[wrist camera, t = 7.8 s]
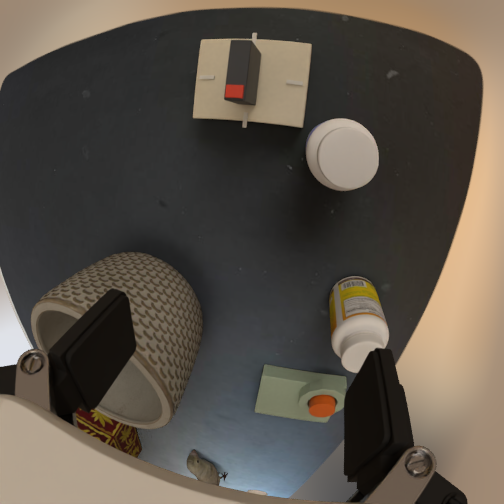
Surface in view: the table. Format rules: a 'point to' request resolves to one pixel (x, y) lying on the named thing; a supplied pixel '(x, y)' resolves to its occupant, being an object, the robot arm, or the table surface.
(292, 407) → the block
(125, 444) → the decorative box
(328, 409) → the button
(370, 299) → the supplement bottle
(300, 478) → the table surface
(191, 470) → the decorative bird
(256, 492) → the champagne flute
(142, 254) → the planter
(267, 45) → the dial panel
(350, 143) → the pill bottle
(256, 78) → the program dial
